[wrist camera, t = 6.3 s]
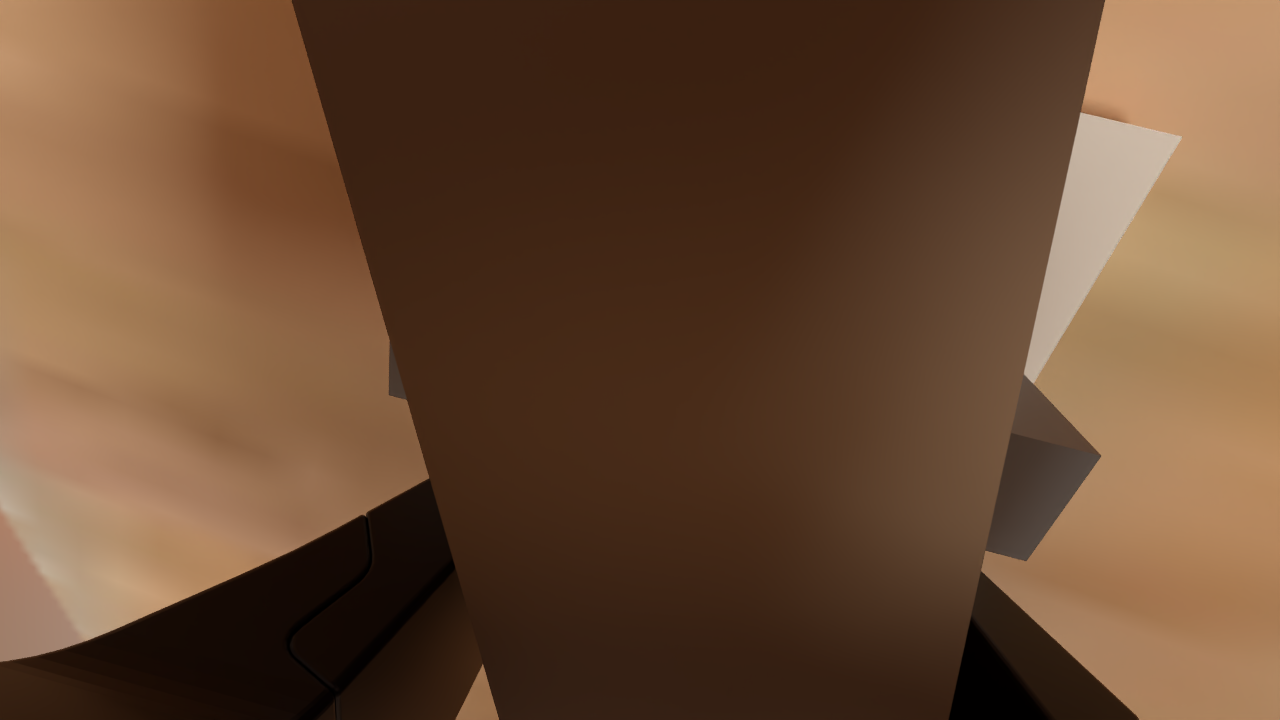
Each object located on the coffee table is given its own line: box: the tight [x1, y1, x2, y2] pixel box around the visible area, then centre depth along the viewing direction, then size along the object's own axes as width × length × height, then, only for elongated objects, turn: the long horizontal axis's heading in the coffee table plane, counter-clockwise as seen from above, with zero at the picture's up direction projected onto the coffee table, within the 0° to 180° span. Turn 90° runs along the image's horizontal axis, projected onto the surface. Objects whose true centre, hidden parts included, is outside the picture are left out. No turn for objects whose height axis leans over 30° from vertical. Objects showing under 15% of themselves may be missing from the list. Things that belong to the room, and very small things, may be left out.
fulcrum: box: [389, 113, 1182, 561], centre depth 13 cm, size 12×14×6 cm
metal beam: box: [292, 0, 1105, 720], centre depth 8 cm, size 20×4×5 cm, turn 5°
